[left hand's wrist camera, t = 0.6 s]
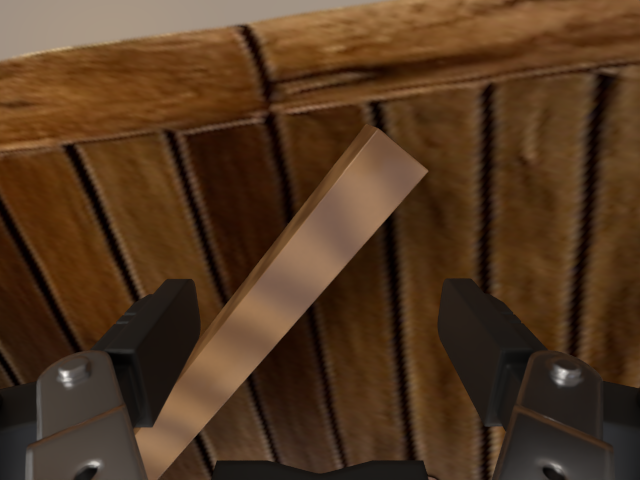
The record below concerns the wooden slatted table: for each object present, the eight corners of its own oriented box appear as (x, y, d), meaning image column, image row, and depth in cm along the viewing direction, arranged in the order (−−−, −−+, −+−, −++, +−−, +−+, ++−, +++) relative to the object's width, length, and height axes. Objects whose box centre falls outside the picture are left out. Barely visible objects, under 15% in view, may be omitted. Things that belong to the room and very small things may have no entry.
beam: (366, 123, 28) (378, 128, 22) (407, 157, 29) (429, 171, 23) (97, 469, 43) (60, 528, 37) (130, 484, 44) (100, 545, 38)
